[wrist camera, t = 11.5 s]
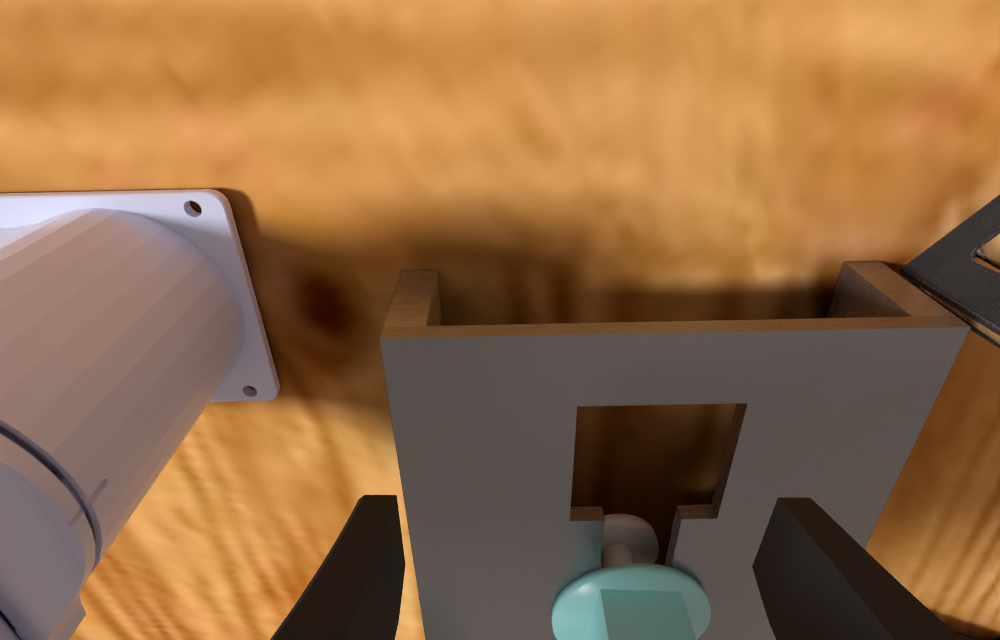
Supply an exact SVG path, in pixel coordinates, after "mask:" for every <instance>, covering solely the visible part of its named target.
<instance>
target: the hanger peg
mask: <svg viewBox="0 0 1000 640" xmlns="http://www.w3.org/2000/svg"><path fill="white" fill-rule="evenodd" d="M604 518H605V526H604V535H603V543H602V552H601V561H600V569H598V570H596V571H593V572H590V573H588V574H586V575H584V576H582V577H580V578H578V579H577V580H575V581H573V582H572V583H571V584H569V585H568V586H567V587H566V588H565V589H564V590H563V591H562V592H561V593H560V594H559V596H558V597H557V598H556V600H555V602H554V605H553V608H552V627H553V632H554V635H555V637H556V639H557V640H697V639H698V638H699V637H701V635H702V634H703V633H704V632H705V630H706V628H707V627H708V625H709V622H710V618H711V609H710V605H709V602H708V599H707V596H706V593H705V591H704V589H703V588H702V586H701V585H700V584H699V583H698V582H697V581H696V580H695V579H694V578H693V577H691V576H690V575H688V574H686V573H684V572H682V571H680V570H677V569H675V568H672V567H668V566H664V565H658V564H653V563H654V562H655V561H656V559H657V557H658V554H659V545H658V542H657V538H656V535H655V532H654V529H653V528H652V526H651V525H650V524H649V523H648V522H646V521H645V520H643V519H641V518H639V517H636V516H633V515H628V514H609V515H604Z"/></svg>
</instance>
